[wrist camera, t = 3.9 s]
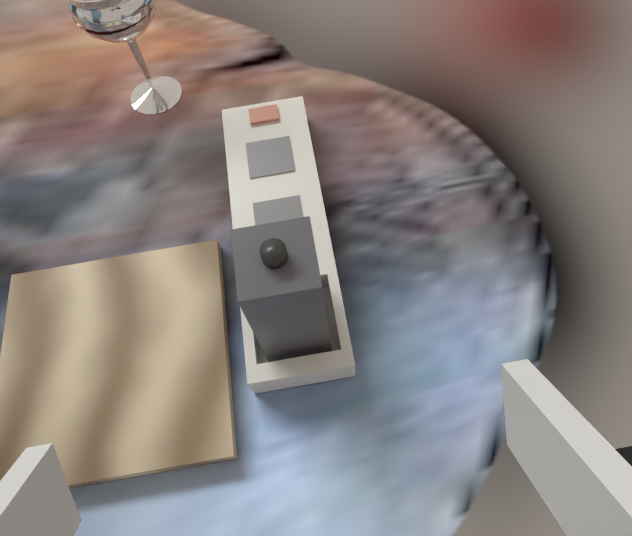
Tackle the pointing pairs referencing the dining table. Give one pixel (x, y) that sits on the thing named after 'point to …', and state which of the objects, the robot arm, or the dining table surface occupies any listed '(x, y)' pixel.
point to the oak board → (119, 365)
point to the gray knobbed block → (281, 288)
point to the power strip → (278, 205)
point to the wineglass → (125, 26)
